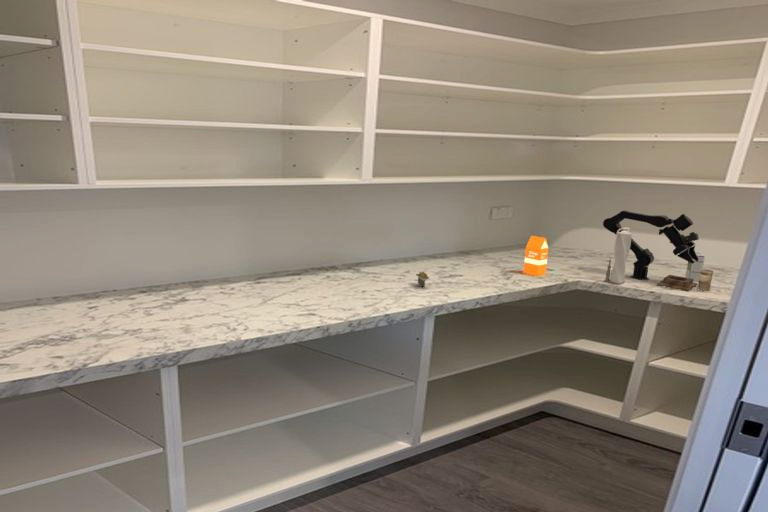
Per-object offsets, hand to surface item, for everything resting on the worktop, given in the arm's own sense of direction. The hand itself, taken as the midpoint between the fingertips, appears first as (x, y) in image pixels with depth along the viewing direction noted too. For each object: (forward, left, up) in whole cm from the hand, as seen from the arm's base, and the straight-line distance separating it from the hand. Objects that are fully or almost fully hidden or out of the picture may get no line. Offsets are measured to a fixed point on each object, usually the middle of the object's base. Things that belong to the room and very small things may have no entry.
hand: (695, 261), depth 245 cm
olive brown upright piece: (-133, +28, -14) cm, 137 cm away
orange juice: (-64, +39, -14) cm, 77 cm away
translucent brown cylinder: (+3, -5, -13) cm, 14 cm away
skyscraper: (-31, +16, -14) cm, 38 cm away
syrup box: (+16, +12, -14) cm, 24 cm away
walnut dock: (-3, +5, -13) cm, 15 cm away
